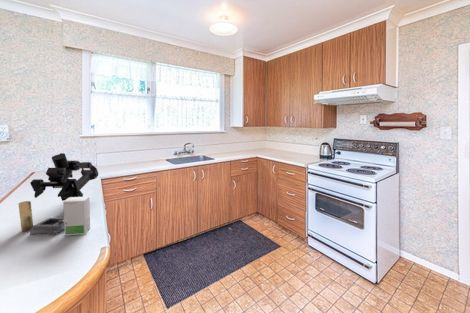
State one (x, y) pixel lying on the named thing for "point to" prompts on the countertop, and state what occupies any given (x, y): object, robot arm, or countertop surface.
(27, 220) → the brass pin
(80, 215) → the skincare box
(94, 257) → the countertop surface
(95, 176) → the robot arm
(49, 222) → the gray open box
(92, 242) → the countertop surface
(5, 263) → the countertop surface
